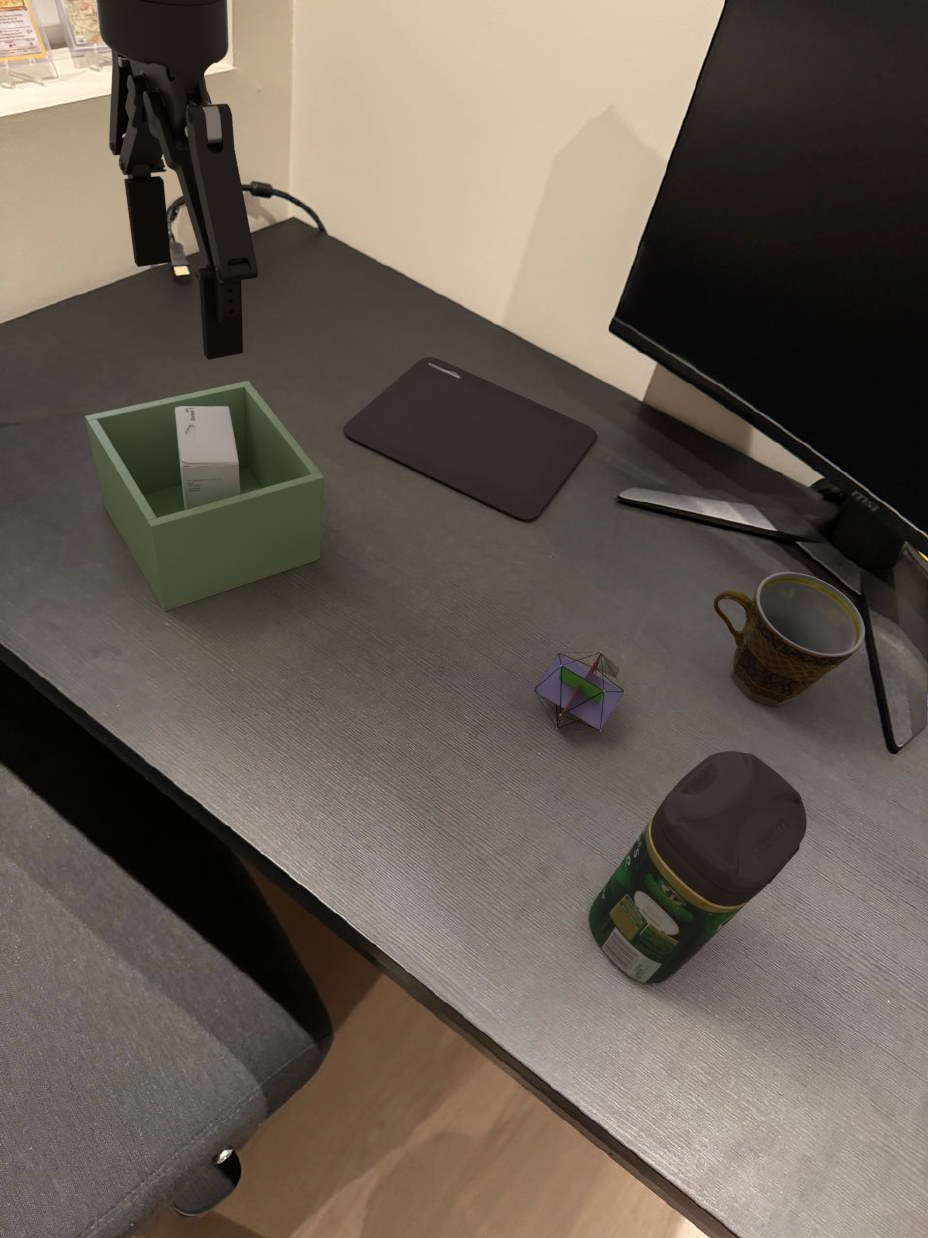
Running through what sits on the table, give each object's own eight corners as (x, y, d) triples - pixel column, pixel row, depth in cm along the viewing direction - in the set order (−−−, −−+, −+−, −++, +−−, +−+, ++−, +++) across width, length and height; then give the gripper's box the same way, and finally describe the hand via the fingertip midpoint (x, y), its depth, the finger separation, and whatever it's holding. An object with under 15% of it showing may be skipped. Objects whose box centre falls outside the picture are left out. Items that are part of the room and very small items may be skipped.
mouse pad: (600, 432, 104) (600, 430, 104) (531, 525, 91) (531, 523, 91) (427, 354, 109) (427, 353, 109) (336, 432, 96) (337, 430, 96)
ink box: (245, 559, 81) (240, 462, 72) (190, 563, 79) (179, 465, 70) (234, 499, 86) (229, 402, 77) (183, 502, 84) (172, 403, 75)
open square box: (102, 503, 83) (84, 415, 75) (250, 464, 90) (248, 380, 82) (164, 611, 76) (151, 526, 68) (320, 559, 83) (324, 476, 75)
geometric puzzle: (582, 759, 70) (630, 678, 68) (513, 715, 72) (558, 635, 70) (597, 741, 77) (641, 667, 75) (533, 702, 79) (575, 628, 77)
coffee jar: (643, 846, 68) (737, 718, 54) (721, 921, 65) (841, 805, 51) (565, 923, 63) (647, 802, 49) (646, 1008, 60) (758, 905, 46)
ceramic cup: (812, 658, 85) (863, 592, 78) (811, 735, 79) (867, 671, 71) (689, 617, 86) (728, 548, 79) (678, 690, 80) (719, 622, 72)
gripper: (318, 50, 45) (305, 386, 61) (143, -89, 57) (170, 224, 73) (182, 52, 42) (206, 408, 57) (25, -97, 53) (81, 234, 69)
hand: (186, 306), depth 65 cm, fingers open, 13 cm apart
